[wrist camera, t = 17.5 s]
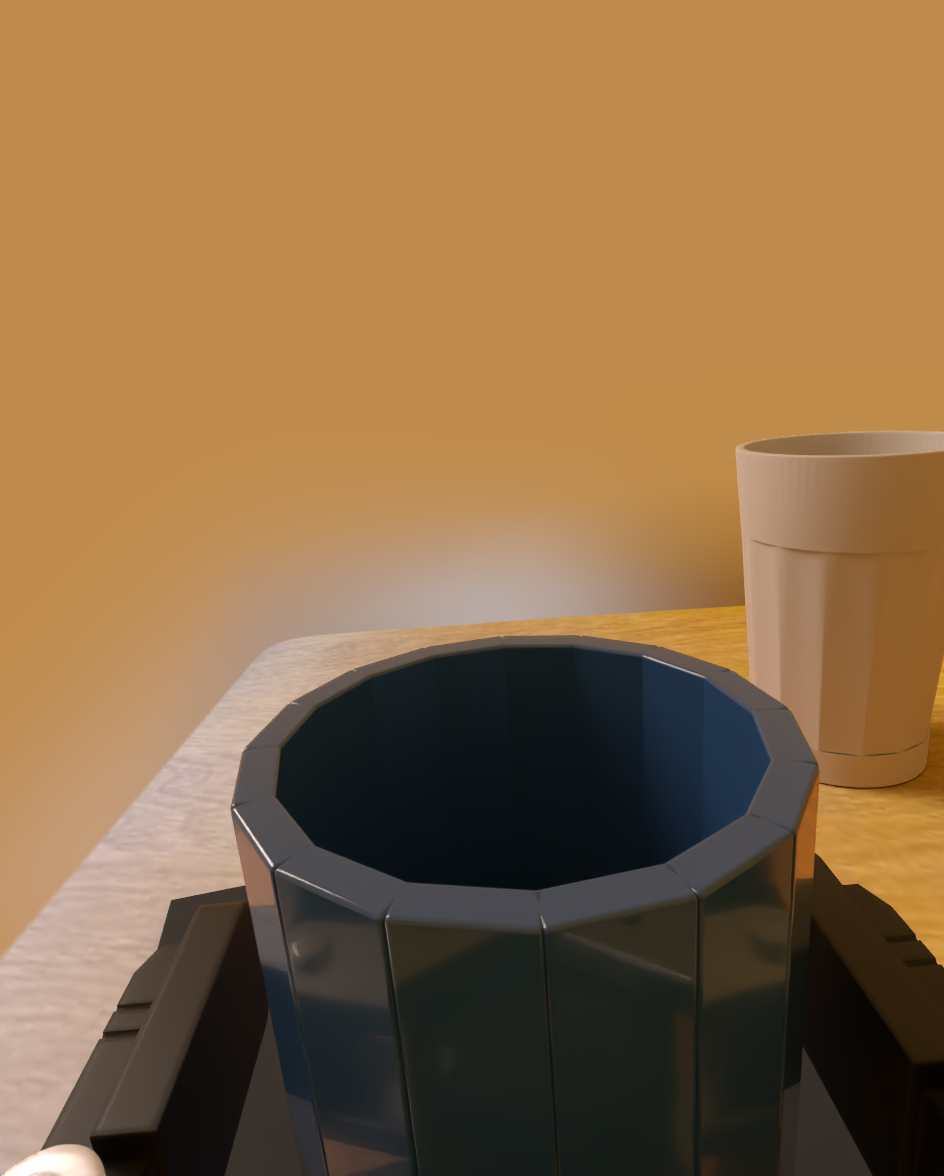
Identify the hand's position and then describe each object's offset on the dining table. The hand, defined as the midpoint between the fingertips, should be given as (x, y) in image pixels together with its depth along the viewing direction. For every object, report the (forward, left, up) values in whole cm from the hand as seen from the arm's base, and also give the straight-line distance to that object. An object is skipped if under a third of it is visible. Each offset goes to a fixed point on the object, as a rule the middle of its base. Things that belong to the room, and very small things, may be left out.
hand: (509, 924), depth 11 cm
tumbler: (0, -2, -7) cm, 7 cm away
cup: (+17, +14, -7) cm, 23 cm away
